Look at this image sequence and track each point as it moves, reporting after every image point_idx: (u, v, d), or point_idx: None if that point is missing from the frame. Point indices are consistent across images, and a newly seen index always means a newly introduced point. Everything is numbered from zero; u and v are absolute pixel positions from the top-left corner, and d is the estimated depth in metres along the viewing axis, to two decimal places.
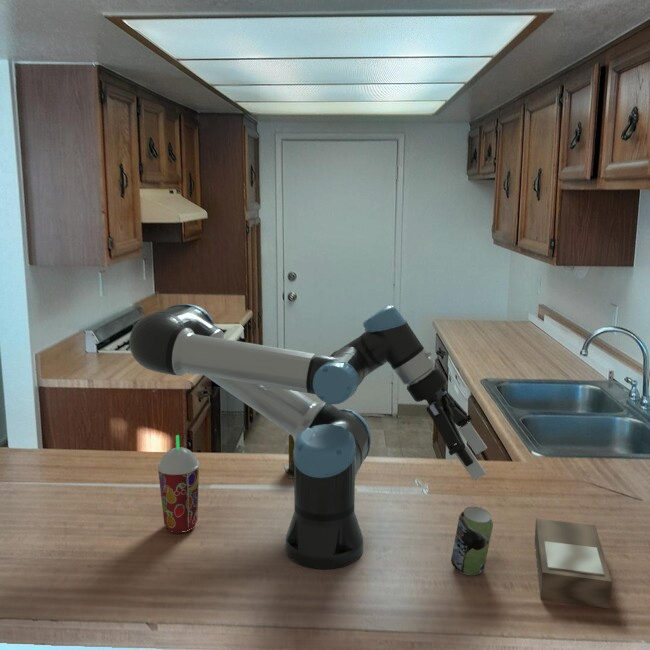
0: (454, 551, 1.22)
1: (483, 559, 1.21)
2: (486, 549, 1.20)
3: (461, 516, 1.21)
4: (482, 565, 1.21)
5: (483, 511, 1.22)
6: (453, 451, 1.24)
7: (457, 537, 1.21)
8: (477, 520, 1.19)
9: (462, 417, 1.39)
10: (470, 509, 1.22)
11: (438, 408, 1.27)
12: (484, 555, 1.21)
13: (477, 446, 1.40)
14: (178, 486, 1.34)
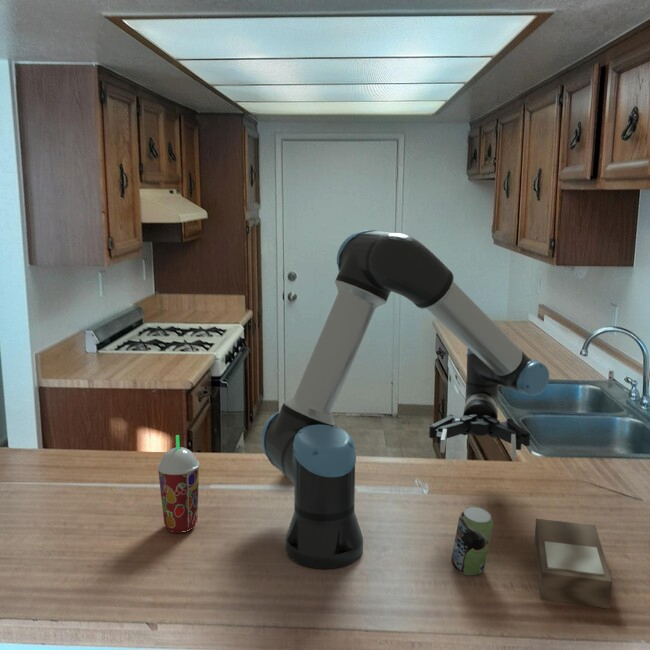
0: (454, 551, 1.22)
1: (483, 559, 1.21)
2: (486, 549, 1.20)
3: (461, 516, 1.21)
4: (482, 565, 1.21)
5: (483, 511, 1.22)
6: (529, 437, 1.36)
7: (457, 537, 1.21)
8: (477, 520, 1.19)
9: (449, 436, 1.40)
10: (470, 509, 1.22)
11: None
12: (484, 555, 1.21)
13: None
14: (178, 486, 1.34)
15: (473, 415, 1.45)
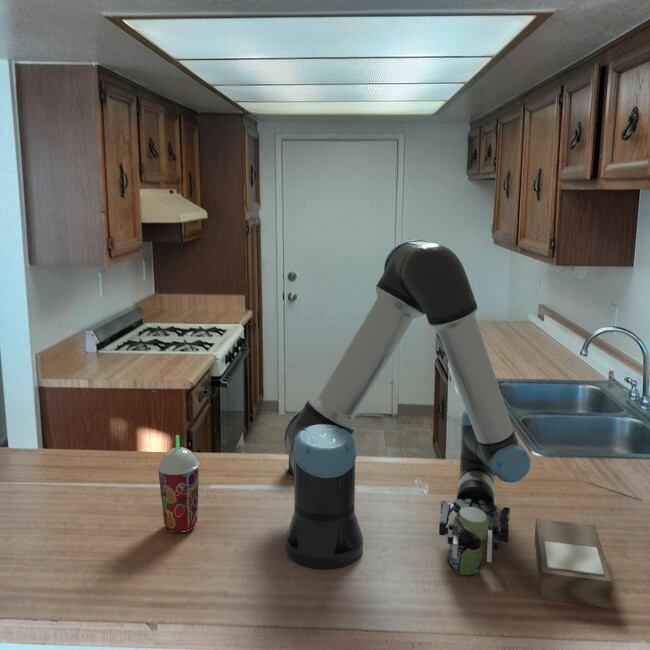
0: (450, 551, 1.22)
1: (479, 559, 1.21)
2: (482, 549, 1.20)
3: (457, 516, 1.21)
4: (478, 565, 1.21)
5: (478, 511, 1.22)
6: None
7: None
8: (473, 520, 1.19)
9: None
10: (466, 509, 1.22)
11: (508, 520, 1.31)
12: (480, 555, 1.21)
13: (457, 546, 1.19)
14: (178, 486, 1.34)
15: (468, 500, 1.33)
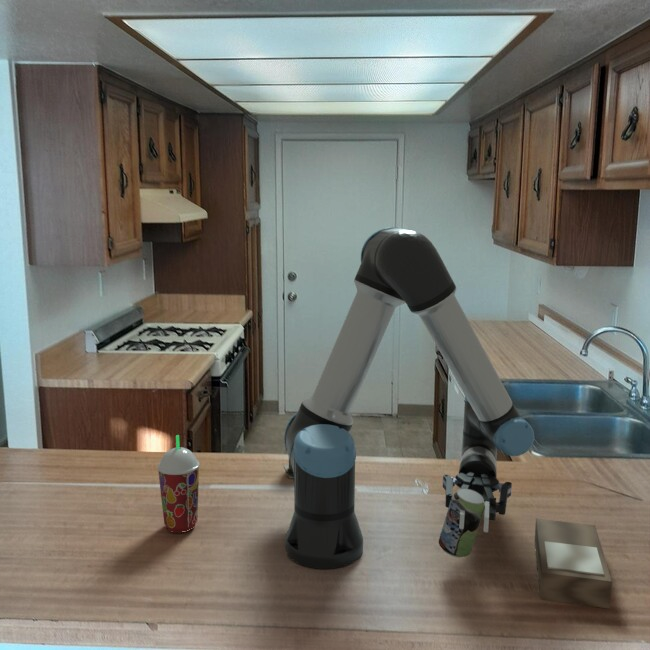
0: (445, 535, 1.20)
1: (474, 540, 1.21)
2: (477, 530, 1.20)
3: (455, 499, 1.19)
4: (472, 546, 1.21)
5: (473, 492, 1.21)
6: (505, 504, 1.22)
7: (450, 520, 1.20)
8: (474, 501, 1.18)
9: None
10: (461, 491, 1.21)
11: (509, 495, 1.30)
12: (475, 536, 1.20)
13: None
14: (178, 486, 1.34)
15: (470, 474, 1.32)
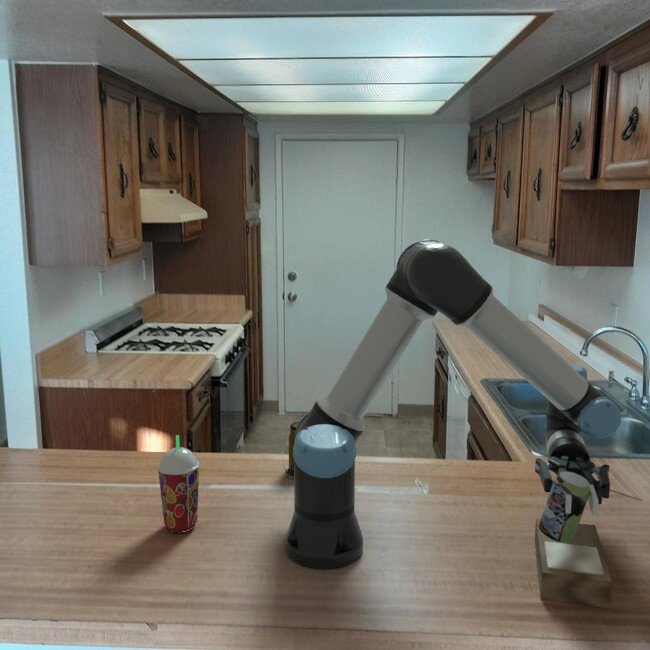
0: (548, 520, 1.15)
1: None
2: None
3: (559, 482, 1.14)
4: None
5: (576, 475, 1.16)
6: (609, 487, 1.17)
7: (554, 505, 1.14)
8: (580, 485, 1.13)
9: None
10: (564, 474, 1.16)
11: None
12: (579, 520, 1.15)
13: None
14: (178, 486, 1.34)
15: (565, 457, 1.27)
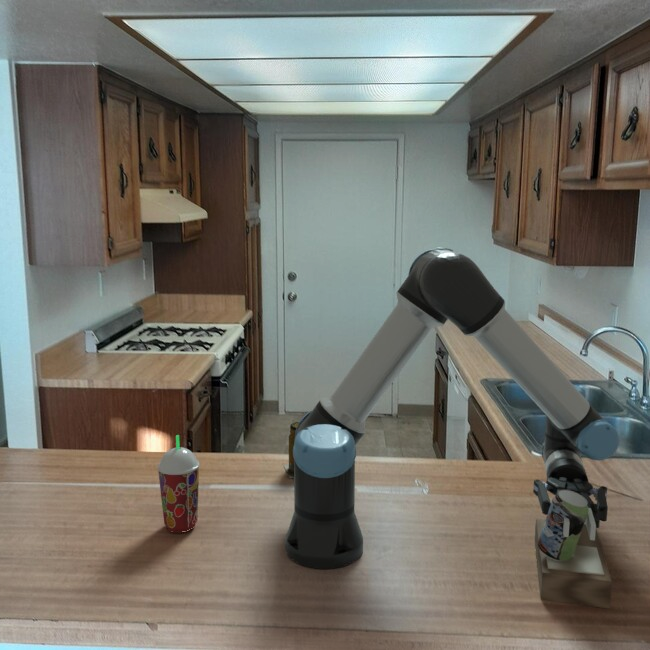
0: (547, 539, 1.16)
1: None
2: (580, 532, 1.16)
3: (558, 502, 1.14)
4: (574, 549, 1.17)
5: (574, 494, 1.16)
6: None
7: (553, 524, 1.15)
8: (578, 504, 1.13)
9: None
10: (563, 493, 1.16)
11: None
12: (578, 539, 1.16)
13: None
14: (178, 486, 1.34)
15: (563, 478, 1.27)
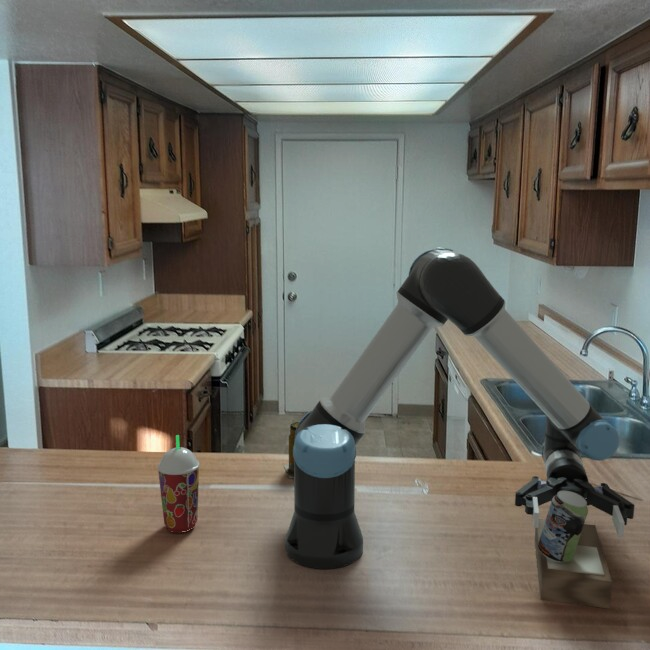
0: (550, 542, 1.15)
1: None
2: None
3: (559, 504, 1.14)
4: None
5: (572, 494, 1.16)
6: None
7: (555, 527, 1.14)
8: (579, 504, 1.13)
9: (538, 504, 1.23)
10: (561, 494, 1.15)
11: None
12: None
13: None
14: (178, 486, 1.34)
15: (562, 478, 1.28)
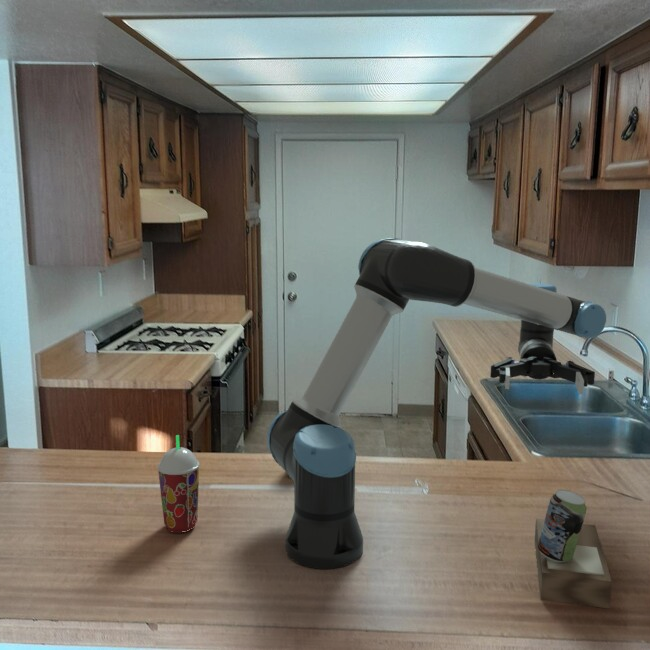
0: (549, 541, 1.15)
1: None
2: None
3: (557, 502, 1.14)
4: None
5: (570, 493, 1.17)
6: (594, 375, 1.34)
7: (554, 525, 1.15)
8: (577, 502, 1.14)
9: (511, 376, 1.39)
10: (560, 493, 1.16)
11: None
12: None
13: None
14: (178, 486, 1.34)
15: (533, 357, 1.43)
